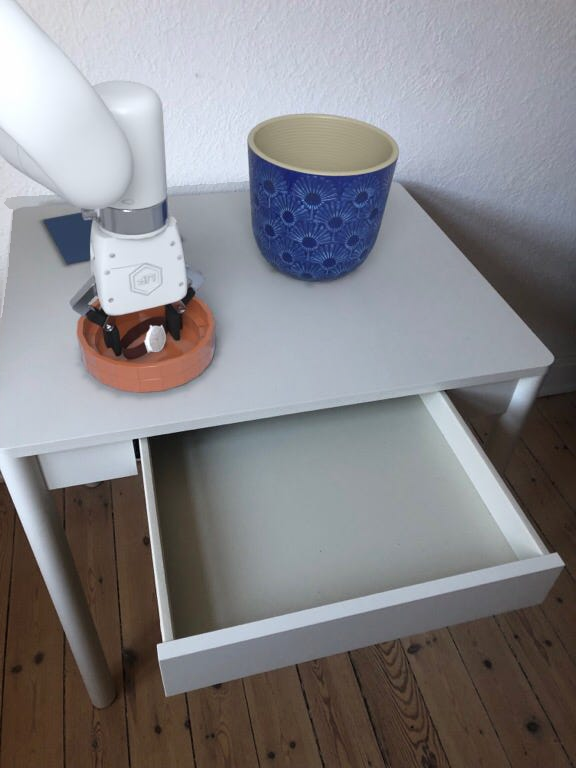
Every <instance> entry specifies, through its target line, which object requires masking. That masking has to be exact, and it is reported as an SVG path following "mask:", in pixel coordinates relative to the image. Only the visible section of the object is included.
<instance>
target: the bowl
mask: <svg viewBox="0 0 576 768" xmlns="http://www.w3.org/2000/svg"><path fill="white" fill-rule="evenodd" d="M90 305H92V306H94V307H95V308H97V309H99V307H100V305H101V304H100V301H99V298H98V297H97V299H96V300H95V301H93V302H92V303H91V304H90ZM185 307H186V310H185V312H184V313H182V318H183V329H182V330H180V340H178V341H176V340H174V339H173V338H172V336H171V335H170V333H169V332H168V333H167V335H166V337H165V338H166V339H165V344H164V346H163V348H162V349H161V350H160V351H159V352H151V351H150V352H149V353H146V354H145V355H143V356H141V357H139V358H136V359H127V358H125V357H124V355H123V352H122V354H121V356H117V357H116V355H115V354H114V352H113V350H112V348H107V347H106V345H105V342H104V337H103V330H102V327H101V326H99V325H97V324H95V323H93V322H91V321H89V320H88V318H86V317H84V316H82V315H80V317H79V319H78V320H77V325H76V338H77V342H78V347H79V353H80V358H81V361H82V363H83V365H84V366H85V367H84V368H86V370H87V372H88V373H89V374H90V375H91V376H92V377H94V378H95V379H96V380H97V381H98V382H100V383H101V384H103V385H106V386H109V387H111V388H114V389H116V390H120V391H127V392H134V393H150V392H151V393H152V392H162V391H166V390H169V389H172V388H176V387H179V386H182V385H185V384H186V383H188V382H190V381H191V380H193V379H195V378H197V377H198V376H200V375H201V374H202V373H203V372H204V371H205V369H206V368H208V366H209V365H210V364H211V363H212V360H213V356H214V354H215V350H216V331H215V330H216V327H215V326H216V325H215V320H214V313H213V312H212V310H211V309H210V308H209V306H208V305H207V304H206V302H205V301H204V300H203V299H201V298H199V297H198V296H196V295H195V296H194V297H193V298H192V299H191V300H190V302H189V303H188V304H187V305H186V306H185ZM158 316H162V317H165V305H162V306H158V307H154V308H150V309H146V310H141V311H137V312H133V313H128V314H124V315H119V316H118V319H117V321H116V323H115V324H116V326H117V328H118V330H119V334H120V341H121V339H122V338H123V336H124V335H125V334H126V333H127V331H128V330H130V329H131V328H132V327H134V326H135V325H137V324H139V323H140V322H142V321H144V320H146V319H149V318H152V317H158ZM165 318H166V317H165ZM147 332H148V331H147ZM147 332H145V333H144V334H142V335H141V336H140V337H139V338H137V339H136V340H135V341H133V342H132V343H131V344H130V345H129V346H128V347H127V348H126V349H129V348H133V347H136V346H138V345H140V344H141V343H143V342H144V341H145V340H146V335H147Z"/></svg>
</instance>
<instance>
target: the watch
mask: <svg viewBox="0 0 576 768" xmlns="http://www.w3.org/2000/svg"><path fill="white" fill-rule="evenodd" d="M147 331H148V332H147ZM145 332H147V335H146V340H145V341H144V342H143V343H141V344H140V345H138V346H136V347H133V348H129V349H126V348H127V347H128V346H129V345H130V344H131V343H132V342H133V341H135V340H136V339H137V338H139V337H140V336H141V335H142V334H144V333H145ZM167 333H168V326H167V322H166V318H165V317H162V316H158V317H152V318H149V319H146V320H144V321H142V322H140V323H139V324H137V325H135V326H134V327H132V328H131V329H130V330H128V331H127V333H126V334H125V335H124V336H123V338H122V339H121V341H120V342H121V350H122V352H123V355H124V357H125V358H127V359H136V358H139V357H141V356H143V355H145V354H146V353H149V352H150V351H151V352H159V351H160V350H161V349H162V348H163V346H164V344H165V339H166V338H165V337H166V335H167Z"/></svg>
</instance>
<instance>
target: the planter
mask: <svg viewBox="0 0 576 768" xmlns="http://www.w3.org/2000/svg"><path fill="white" fill-rule="evenodd" d="M246 141H247V162H248V177H249V178H248V181H249V183H248V184H249V200H250V201H249V202H250V219H251V228H252V233H253V238H254V241H255V243H256V247H257V248H258V250H259V253H260V254H261V256H262V257H263V258H264V259H265V261H266V262H268V263H269V265H270V266H271V267H272V268H274V269H275V270H276V271H278V272H279V273H282V274H284V275H286V276H287V277H291V278H292V279H293V278H294V279H297V280H301V281H307V282H327V281H332V280H337V279H340V278H343V277H345V276H347V275H349V274H351V273H353V272H354V271H356V270H357V269H358V268H359V267H360V266H362V265H363V263H364V262H365V261H366V260H367V258H368V257H369V256H370V254H371V253H372V250H373V249H374V246H375V244H376V242H377V239H378V237H379V233H380V230H381V225H382V222H383V218H384V213H385V210H386V206H387V202H388V200H389V199H388V198H389V194H390V191H391V186H392V182H393V178H394V174H395V171H396V167H397V163H398V160H399V155H400V147H399V145H398V143H397V141H396V140H395V138H393V136H392V135H390V134H389V133H387V132H386V131H385V130H383V129H381V128H380V127H378V126H376V125H374V124H371V123H369V122H366V121H363V120H359V119H355V118H352V117H347V116H341V115H337V114H336V115H335V114H327V113H311V112H309V113H292V114H285V115H279V116H274V117H271V118H269V119H266V120H264V121H261V122H259V123H257V124H256V125H255V126H254V127H253V128H252V129H251V130H250V131H249V132H248V134H247V139H246Z"/></svg>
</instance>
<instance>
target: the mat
mask: <svg viewBox="0 0 576 768" xmlns="http://www.w3.org/2000/svg"><path fill="white" fill-rule="evenodd" d="M92 222H93V221H92V220H84V219H83V216H82V212H77V213H71V214H66V215H61V216H60V215H59V216H55V217H50V218H44V219H43V223H44V225H45V226H46V228H47V230H48V232H49V234H50V235H51V238H52V239H53V241H54V243H55V245H56V246H57V248H58V250H59V252H60V254H61V256H62V258H63V260H64V261H65V263H66V265H70V264H76V263H81V262H85V261H90V238H91V227H92Z"/></svg>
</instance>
